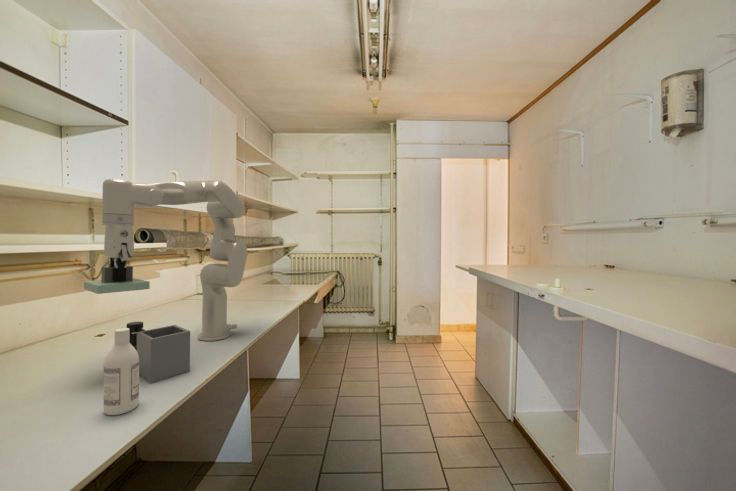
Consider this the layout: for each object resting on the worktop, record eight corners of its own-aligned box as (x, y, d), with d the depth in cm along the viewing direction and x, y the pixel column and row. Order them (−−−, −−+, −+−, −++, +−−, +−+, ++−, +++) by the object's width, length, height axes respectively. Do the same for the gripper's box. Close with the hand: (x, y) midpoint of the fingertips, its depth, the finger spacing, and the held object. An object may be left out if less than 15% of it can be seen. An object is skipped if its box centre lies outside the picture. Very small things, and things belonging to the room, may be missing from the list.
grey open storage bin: (174, 362, 106) (175, 324, 106) (189, 371, 100) (190, 331, 100) (136, 373, 98) (136, 332, 97) (150, 383, 91) (150, 339, 91)
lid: (133, 284, 104) (133, 264, 104) (149, 288, 97) (149, 267, 97) (83, 289, 94) (84, 266, 93) (97, 293, 86) (98, 269, 86)
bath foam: (134, 398, 83) (135, 323, 82) (142, 408, 78) (143, 329, 78) (100, 408, 77) (101, 329, 77) (106, 419, 73) (107, 335, 73)
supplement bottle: (133, 361, 107) (133, 326, 107) (117, 359, 108) (117, 324, 108) (150, 353, 114) (151, 321, 113) (135, 352, 115) (135, 319, 115)
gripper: (143, 221, 93) (142, 282, 94) (123, 222, 103) (122, 277, 103) (112, 219, 87) (111, 284, 88) (93, 220, 96) (93, 279, 97)
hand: (117, 280), depth 95 cm, fingers closed on lid, 2 cm apart
